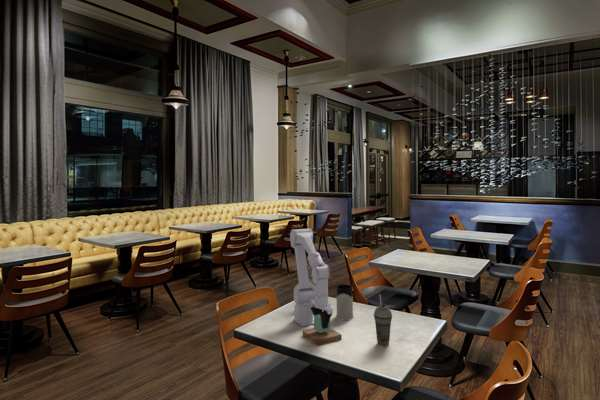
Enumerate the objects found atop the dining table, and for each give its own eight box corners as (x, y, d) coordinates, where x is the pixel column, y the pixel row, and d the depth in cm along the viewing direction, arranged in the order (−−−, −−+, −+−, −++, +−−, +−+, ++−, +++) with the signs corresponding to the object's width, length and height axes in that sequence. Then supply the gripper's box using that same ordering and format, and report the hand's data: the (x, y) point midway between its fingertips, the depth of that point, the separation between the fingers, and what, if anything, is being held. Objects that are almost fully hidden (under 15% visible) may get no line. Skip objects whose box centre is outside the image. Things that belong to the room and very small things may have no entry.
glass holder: (334, 319, 174) (334, 288, 173) (338, 309, 188) (337, 281, 187) (353, 320, 172) (352, 289, 172) (355, 310, 186) (354, 281, 185)
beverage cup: (389, 349, 141) (388, 298, 140) (371, 345, 145) (370, 295, 144) (394, 342, 147) (394, 293, 147) (377, 338, 151) (377, 291, 150)
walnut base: (302, 335, 156) (302, 330, 156) (326, 329, 162) (326, 325, 162) (316, 345, 146) (316, 340, 145) (341, 339, 151) (341, 334, 151)
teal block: (314, 329, 155) (313, 315, 155) (324, 326, 157) (323, 313, 157) (320, 333, 150) (320, 318, 150) (330, 330, 153) (330, 316, 152)
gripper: (338, 297, 148) (339, 329, 149) (320, 288, 161) (320, 318, 162) (324, 299, 145) (324, 333, 146) (306, 291, 158) (307, 321, 158)
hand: (321, 325), depth 153 cm, fingers closed on teal block, 5 cm apart
